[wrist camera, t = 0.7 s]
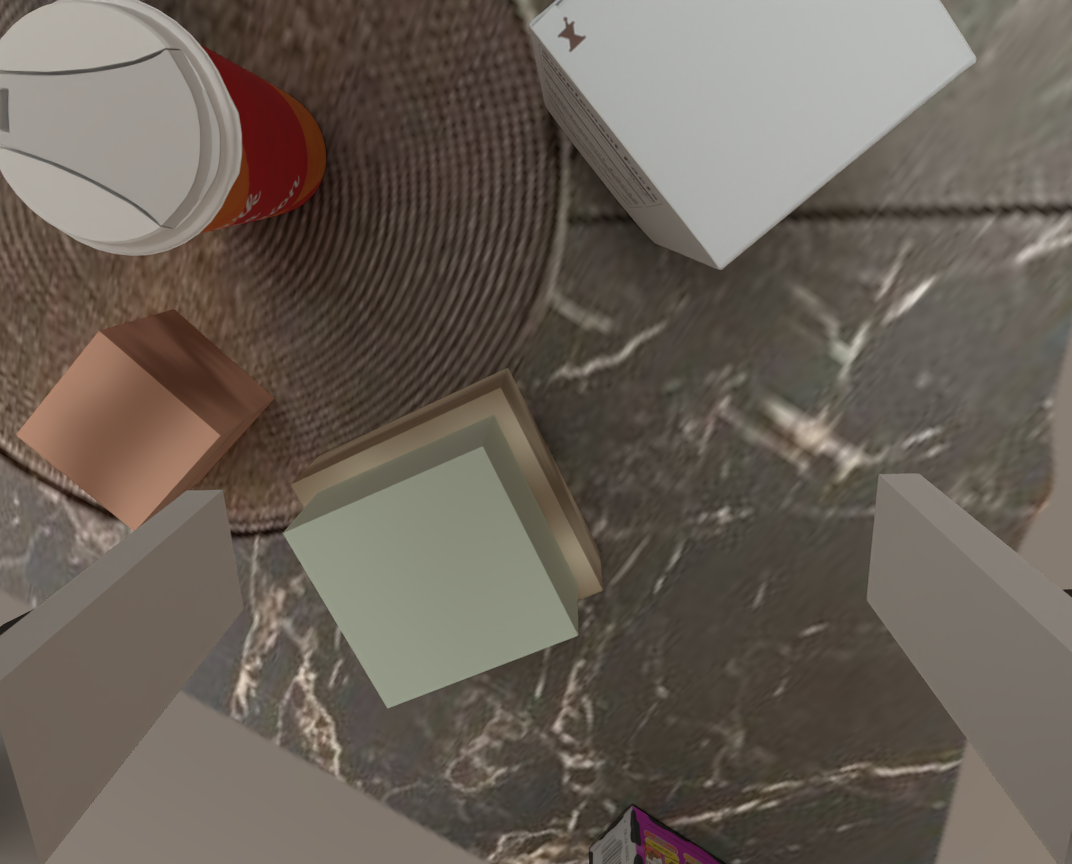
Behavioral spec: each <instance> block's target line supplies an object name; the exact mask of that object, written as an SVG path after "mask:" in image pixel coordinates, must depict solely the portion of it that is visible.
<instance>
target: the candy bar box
mask: <svg viewBox="0 0 1072 864" xmlns="http://www.w3.org/2000/svg"><path fill="white" fill-rule="evenodd" d="M589 864H725V863H723V862H722V861H720V860H718V859H717V858H715V857H714V856H712V855H710V854H709V853H707V852H705V851H704V850H702V849H701V848H699V847H697V846H696V845H694V844H692V843H691V842H689V841H688V840H686V839H685V838H683V837H681V836H680V835H678V834H677V833H675V832H673V831H672V830H670V829H669V828H667V827H666V826H664V825H662V824H661V823H659V822H658V821H656V820H655V819H653V818H651V817H650V816H648V815H647V814H645V813H644V812H642V811H641V810H639V809H637V808H636V807H634V806H630V807H629V808H628V809H627V810H626V811H625V812H624V813H623V814H622V815H621V816H620V817H619V819H618V820H617V821H616V822H615V823H614V824H613V825H612V826H611V827H610V828H609V829H607V830H606V832H605V833H604V834H602V835H601V836H600V837H599V838H598V839H597V840H596V842H595V843H594V844H593V845H592V846H591V847H590V849H589Z"/></svg>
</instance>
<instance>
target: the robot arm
mask: <svg viewBox="0 0 1072 864" xmlns="http://www.w3.org/2000/svg"><path fill="white" fill-rule="evenodd" d="M867 601H868V603H869V604H870V605H871V607H872V608H873V609H874V611H875V612H876V614H877V615H878V616H879V618H880V619H881V621H882V622H883V623H884V625H885V626H886V627H887V629H888V630H889V632H890V633H891V634H892V636H893V637H894V638H895V640H896V641H897V643H898V644H899V645H900V647H901V648H902V650H903V651H904V652H905V654H906V655H907V656H908V658H909V659H910V661H911V662H912V663H913V665H914V666H915V668H916V669H917V670H918V672H919V673H920V674H921V676H922V677H923V679H924V680H925V681H926V683H927V684H928V686H929V687H930V688H931V690H932V691H933V692H934V694H935V695H936V697H937V698H938V699H939V701H940V702H941V703H942V705H943V706H944V708H945V709H946V710H947V712H948V713H949V715H950V716H951V717H952V719H953V720H954V721H955V723H956V724H957V726H958V727H959V728H960V730H961V731H962V733H963V734H964V735H965V737H966V738H967V739H968V741H969V742H970V744H971V745H972V746H973V748H974V749H975V750H976V752H977V753H978V755H979V756H980V757H981V759H982V760H983V762H984V763H985V764H986V766H987V767H988V768H989V770H990V771H991V773H992V774H993V775H994V777H995V778H996V780H997V781H998V782H999V783H1000V785H1001V786H1002V788H1003V789H1004V791H1005V792H1006V793H1007V795H1008V796H1009V797H1010V799H1011V800H1012V802H1013V803H1014V804H1015V806H1016V807H1017V809H1018V810H1019V811H1020V813H1021V814H1022V815H1023V817H1024V818H1025V819H1026V821H1027V822H1028V824H1029V825H1030V827H1031V828H1032V829H1033V831H1034V832H1035V833H1036V835H1037V836H1038V838H1039V839H1040V840H1041V842H1042V843H1043V845H1044V846H1045V847H1046V849H1047V850H1048V851H1049V853H1050V854H1051V856H1052V857H1053V858H1054V860H1055V861H1056V862H1057V864H1072V589H1071V590H1070V589H1068V590H1062V589H1061V588H1059V587H1058V586H1057V585H1056V584H1054V583H1053V582H1052V581H1050V580H1049V579H1048V578H1047V577H1046V576H1045V575H1043V574H1042V573H1041V572H1039V571H1038V570H1037V569H1036V568H1035V567H1033V566H1032V565H1031V564H1030V563H1029V562H1027V561H1026V560H1025V559H1024V558H1022V557H1021V556H1020V555H1019V554H1017V553H1016V552H1015V551H1014V550H1013V549H1011V548H1010V547H1009V546H1008V545H1006V544H1005V543H1004V542H1003V541H1001V540H1000V539H999V538H998V537H997V536H995V535H994V534H993V533H992V532H990V531H989V530H988V529H987V528H985V527H984V526H983V525H982V524H980V523H979V522H978V521H977V520H976V519H974V518H973V517H972V516H971V515H969V514H968V513H967V512H966V511H964V510H963V509H962V508H961V507H960V506H958V505H957V504H956V503H955V502H953V501H952V500H951V499H950V498H948V497H947V496H946V495H945V494H944V493H942V492H941V491H940V490H939V489H937V488H936V487H935V486H934V485H932V484H931V483H930V482H929V481H928V480H926V479H925V478H924V477H923V476H921V475H920V474H919V473H917V474H879V476H878V487H877V497H876V507H875V518H874V528H873V538H872V549H871V559H870V569H869V580H868V590H867ZM243 609H244V608H243V602H242V597H241V591H240V585H239V579H238V574H237V568H236V562H235V556H234V551H233V545H232V539H231V533H230V528H229V522H228V516H227V510H226V505H225V499H224V493H223V490H187V491H185V492H184V493H183V494H181V495H180V496H179V497H177V498H176V499H175V500H174V501H172V502H171V503H170V504H168V505H167V506H166V507H165V508H163V509H162V510H161V511H160V512H158V513H157V514H156V515H154V516H153V517H152V518H151V519H149V520H148V521H147V522H145V523H144V524H143V525H142V526H140V527H139V528H138V529H136V530H135V531H134V532H133V533H131V534H130V535H129V536H127V537H126V538H125V539H124V540H122V541H121V542H120V543H118V544H117V545H116V546H115V547H113V548H112V549H111V550H109V551H108V552H107V553H106V554H104V555H103V556H102V557H100V558H99V559H98V560H97V561H95V562H94V563H93V564H92V565H90V566H89V567H88V568H86V569H85V570H84V571H83V572H81V573H80V574H79V575H77V576H76V577H75V578H74V579H72V580H71V581H70V582H68V583H67V584H66V585H65V586H63V587H62V588H61V589H59V590H58V591H57V592H56V593H54V594H53V595H52V596H50V597H49V598H48V599H47V600H45V601H44V602H43V603H41V604H40V605H39V606H38V607H36V608H35V609H33V610H31V611H29V612H27V613H25V614H23V615H21V616H19V617H17V618H15V619H13V620H11V621H9V622H7V623H5V624H3V625H2V626H1V627H0V864H45V862H46V861H47V860H48V858H49V857H50V856H51V855H52V853H53V852H54V851H55V850H56V848H57V847H58V846H59V844H60V843H61V842H62V841H63V839H64V838H65V837H66V835H67V834H68V833H69V832H70V830H71V829H72V828H73V827H74V825H75V824H76V823H77V821H78V820H79V819H80V818H81V816H82V815H83V814H84V813H85V811H86V810H87V809H88V807H89V806H90V804H92V802H93V801H94V800H95V798H96V797H97V796H98V795H99V793H100V792H101V791H102V790H103V788H104V787H105V786H106V784H107V783H108V782H109V781H110V779H111V778H112V777H113V775H114V774H115V773H116V772H117V770H118V769H119V768H120V767H121V765H122V764H123V763H124V761H125V760H126V759H127V758H128V756H129V755H130V754H131V752H132V751H133V750H134V749H135V747H136V746H137V745H138V743H139V742H140V741H141V740H142V738H143V737H144V736H145V734H146V733H147V732H148V730H149V729H150V728H151V727H152V725H153V724H154V723H155V722H156V720H157V719H158V718H159V717H160V715H161V714H162V713H163V712H164V710H165V709H166V708H167V706H168V705H169V704H170V703H171V701H172V700H173V699H174V697H175V696H176V695H177V694H178V692H179V691H180V690H181V689H182V687H183V686H184V685H185V683H186V682H187V681H188V680H189V678H190V677H191V676H192V674H193V673H194V672H195V671H196V669H197V668H198V667H199V666H200V664H201V663H202V662H203V660H204V659H205V658H206V657H207V655H208V654H209V653H210V651H211V650H212V649H213V648H214V646H215V645H216V644H217V643H218V641H219V640H220V639H221V637H222V636H223V635H224V634H225V632H226V631H227V630H228V628H229V627H230V626H231V625H232V623H233V622H234V621H235V620H236V618H237V617H238V616H239V614H240V613H241V612H242V611H243Z"/></svg>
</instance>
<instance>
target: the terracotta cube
mask: <svg viewBox="0 0 1072 864" xmlns="http://www.w3.org/2000/svg"><path fill="white" fill-rule="evenodd" d="M274 399H275V398H274V397H272V396H271V395H270V394H269V393H268V392H267V391H266V390H265V389H263V388H262V387H261V386H260V385H259V384H258V383H257V382H255V381H254V380H253V379H252V378H251V377H250V376H249V375H248V374H246V373H245V372H244V371H243V370H242V369H241V368H240V367H239V366H237V365H236V364H235V363H234V362H233V361H232V360H231V359H230V358H228V357H227V356H226V355H225V354H224V353H223V352H222V351H221V350H219V349H218V348H217V347H216V346H215V345H214V344H213V343H212V342H210V341H209V340H208V339H207V338H206V337H205V336H204V335H203V334H201V333H200V332H199V331H198V330H197V329H196V328H195V327H194V326H192V325H191V324H190V323H189V322H188V321H187V320H186V319H185V318H183V317H182V316H181V315H180V314H179V313H178V312H177V311H176V310H171V311H167V312H164V313H160V314H157V315H153V316H149V317H146V318H142V319H139V320H135V321H132V322H128V323H125V324H121V325H118V326H114V327H111V328H107V329H104V330H100V331H99V332H98V333H97V334H96V335H95V337H94V338H93V339H92V340H91V342H90V343H89V344H88V345H87V347H86V348H85V349H84V350H83V352H82V353H81V354H80V355H79V357H78V358H77V359H76V360H75V362H74V363H73V364H72V365H71V367H70V368H69V369H68V370H67V372H66V373H65V374H64V375H63V377H62V378H61V379H60V380H59V382H58V383H57V384H56V385H55V387H54V388H53V389H52V390H51V392H50V393H49V394H48V395H47V397H46V398H45V399H44V400H43V402H42V403H41V404H40V405H39V407H38V408H37V409H36V410H35V412H34V413H33V414H32V415H31V417H30V418H29V419H28V420H27V422H26V423H25V424H24V425H23V427H22V428H21V429H20V430H19V432H18V433H17V434H16V435H17V436H18V437H19V438H20V439H22V440H23V441H24V442H25V443H27V444H28V445H29V446H30V447H31V448H33V449H34V450H35V451H36V452H38V453H39V454H40V455H41V456H42V457H44V458H45V459H46V460H47V461H49V462H50V463H51V464H52V465H54V466H55V467H56V468H57V469H58V470H60V471H61V472H62V473H63V474H65V475H66V476H67V477H68V478H69V479H71V480H72V481H73V482H74V483H76V484H77V485H78V486H79V487H81V488H82V489H83V490H84V491H85V492H87V493H88V494H89V495H90V496H92V497H93V498H94V499H95V500H97V501H98V502H99V503H100V504H101V505H103V506H104V507H105V508H106V509H108V510H109V511H110V512H111V513H112V514H114V515H115V516H116V517H117V518H119V519H120V520H121V521H122V522H124V523H125V524H126V525H127V526H128V527H130V528H131V529H132V530H133V531H135V530H136V529H138V528H139V527H140V526H142V525H143V524H144V523H145V522H147V521H148V520H149V519H151V518H152V517H153V516H154V515H156V514H157V513H158V512H160V511H161V510H162V509H163V508H165V507H166V506H167V505H168V504H170V503H171V502H172V501H174V500H175V499H176V498H177V497H179V496H180V495H181V494H183V493H184V492H185V491H187V490H190V489H191V488H192V487H193V486H195V485H196V484H197V483H199V482H200V481H201V480H202V479H203V477H204V476H205V475H206V474H207V473H208V472H209V471H210V470H211V469H212V467H213V466H214V465H215V464H216V463H217V462H218V461H219V460H220V459H221V458H222V456H223V455H224V454H225V453H226V452H227V451H228V450H229V449H230V448H231V446H232V445H233V444H234V443H235V442H236V441H237V440H238V439H239V438H240V436H241V435H242V434H243V433H244V432H245V431H246V430H247V429H248V428H249V426H250V425H251V424H252V423H253V422H254V421H255V420H256V419H257V418H258V417H259V415H260V414H261V413H262V412H263V411H264V410H265V409H266V408H267V407H268V405H269V404H270V403H271V402H272V401H273V400H274Z"/></svg>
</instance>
